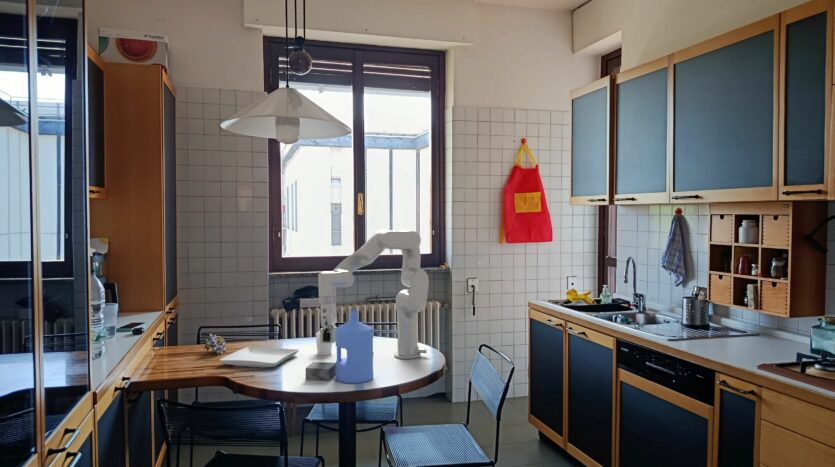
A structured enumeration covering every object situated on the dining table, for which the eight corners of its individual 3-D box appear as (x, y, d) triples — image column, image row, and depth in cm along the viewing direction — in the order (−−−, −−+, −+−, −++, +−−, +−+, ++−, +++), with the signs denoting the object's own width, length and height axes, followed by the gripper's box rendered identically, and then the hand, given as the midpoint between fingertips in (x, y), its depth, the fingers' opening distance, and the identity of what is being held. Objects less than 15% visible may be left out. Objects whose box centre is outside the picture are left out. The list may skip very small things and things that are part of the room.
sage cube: (337, 339, 264) (337, 326, 264) (333, 343, 258) (333, 329, 258) (324, 339, 265) (324, 326, 264) (320, 343, 259) (319, 329, 259)
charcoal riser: (336, 374, 250) (336, 362, 249) (329, 381, 240) (329, 368, 240) (313, 373, 251) (313, 361, 251) (305, 380, 241) (305, 368, 241)
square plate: (275, 371, 256) (275, 362, 256) (217, 367, 262) (217, 359, 262) (299, 356, 283) (299, 348, 283) (247, 353, 288) (247, 345, 288)
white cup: (334, 351, 290) (334, 331, 290) (330, 355, 282) (330, 334, 282) (318, 351, 291) (318, 331, 290) (314, 355, 283) (314, 334, 283)
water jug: (374, 373, 251) (373, 308, 250) (372, 384, 236) (372, 314, 235) (337, 373, 251) (337, 308, 250) (333, 384, 235) (332, 314, 234)
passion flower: (220, 365, 285) (218, 348, 278) (199, 360, 286) (196, 344, 278) (230, 347, 294) (228, 331, 287) (209, 343, 295) (207, 327, 287)
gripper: (330, 302, 251) (331, 344, 252) (341, 296, 268) (342, 335, 269) (313, 302, 252) (314, 344, 253) (325, 296, 269) (326, 335, 270)
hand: (328, 339), depth 261 cm, fingers closed on sage cube, 6 cm apart
